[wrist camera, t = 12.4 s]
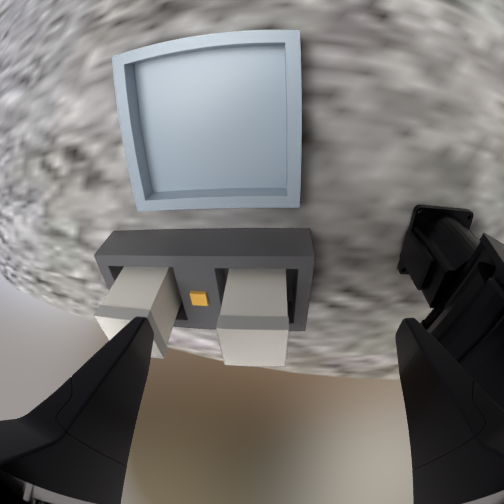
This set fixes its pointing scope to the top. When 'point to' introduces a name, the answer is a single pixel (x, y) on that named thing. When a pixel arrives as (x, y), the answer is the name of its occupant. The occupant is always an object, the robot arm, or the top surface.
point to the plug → (142, 303)
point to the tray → (213, 120)
